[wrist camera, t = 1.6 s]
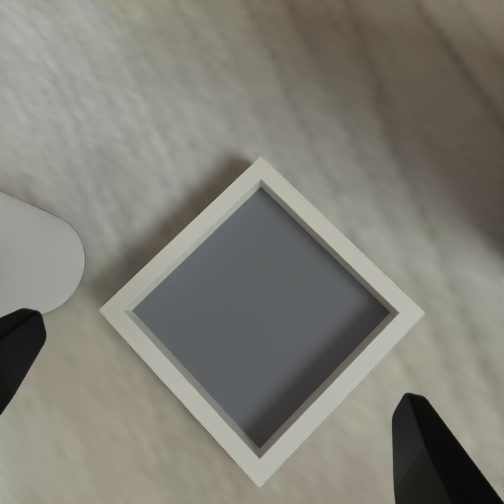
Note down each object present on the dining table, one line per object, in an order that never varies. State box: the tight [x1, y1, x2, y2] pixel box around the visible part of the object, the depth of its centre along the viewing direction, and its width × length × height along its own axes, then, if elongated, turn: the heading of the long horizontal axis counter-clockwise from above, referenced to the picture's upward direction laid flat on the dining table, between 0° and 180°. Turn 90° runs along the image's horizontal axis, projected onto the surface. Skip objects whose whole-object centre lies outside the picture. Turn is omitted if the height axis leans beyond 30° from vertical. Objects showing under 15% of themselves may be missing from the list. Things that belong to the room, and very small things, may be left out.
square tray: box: [99, 156, 425, 488], centre depth 22 cm, size 13×13×2 cm
